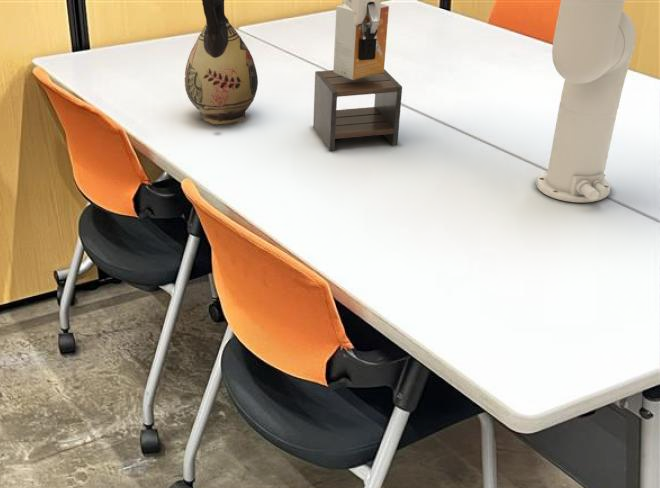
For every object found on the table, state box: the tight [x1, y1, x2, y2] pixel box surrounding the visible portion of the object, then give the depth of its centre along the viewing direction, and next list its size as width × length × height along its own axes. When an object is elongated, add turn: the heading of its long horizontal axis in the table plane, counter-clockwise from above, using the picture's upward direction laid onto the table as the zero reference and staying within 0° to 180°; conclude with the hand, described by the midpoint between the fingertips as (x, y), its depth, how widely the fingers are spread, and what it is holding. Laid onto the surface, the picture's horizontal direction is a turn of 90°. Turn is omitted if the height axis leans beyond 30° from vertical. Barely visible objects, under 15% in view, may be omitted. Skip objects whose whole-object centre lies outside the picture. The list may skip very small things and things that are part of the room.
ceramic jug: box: [184, 0, 259, 126], centre depth 203 cm, size 17×15×30 cm
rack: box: [312, 68, 403, 152], centre depth 197 cm, size 13×14×12 cm
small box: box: [333, 3, 390, 80], centre depth 190 cm, size 8×6×13 cm
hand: (359, 52), depth 191 cm, fingers closed on small box, 8 cm apart
